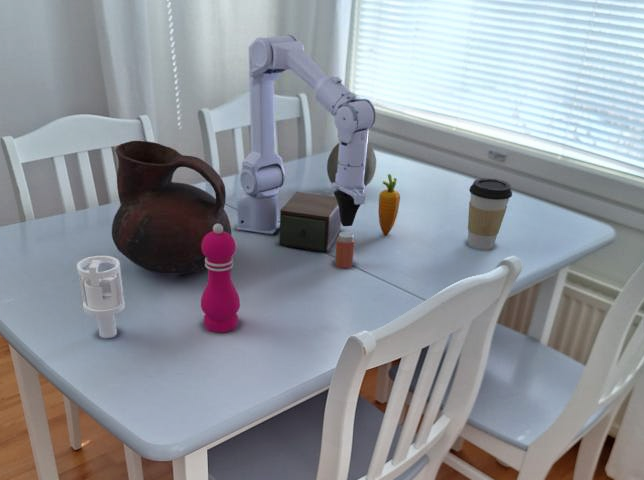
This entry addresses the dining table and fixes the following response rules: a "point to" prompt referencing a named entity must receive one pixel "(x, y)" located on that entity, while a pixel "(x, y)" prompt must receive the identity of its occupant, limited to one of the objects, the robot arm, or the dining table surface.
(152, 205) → the jug
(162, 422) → the dining table surface
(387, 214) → the carrot
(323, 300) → the dining table surface
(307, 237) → the drawer
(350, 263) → the orange jar
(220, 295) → the pepper mill
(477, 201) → the coffee cup
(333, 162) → the cantaloupe
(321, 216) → the cabinet
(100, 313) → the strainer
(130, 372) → the dining table surface
